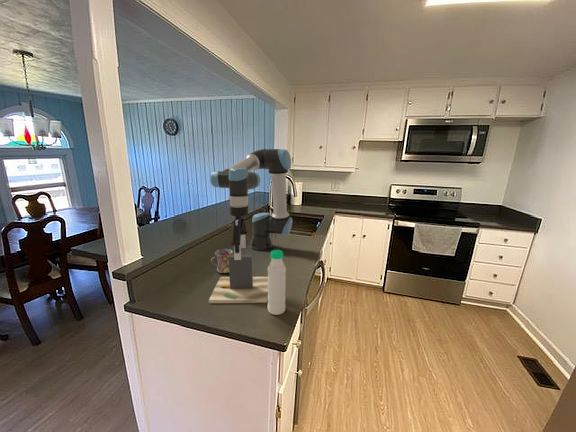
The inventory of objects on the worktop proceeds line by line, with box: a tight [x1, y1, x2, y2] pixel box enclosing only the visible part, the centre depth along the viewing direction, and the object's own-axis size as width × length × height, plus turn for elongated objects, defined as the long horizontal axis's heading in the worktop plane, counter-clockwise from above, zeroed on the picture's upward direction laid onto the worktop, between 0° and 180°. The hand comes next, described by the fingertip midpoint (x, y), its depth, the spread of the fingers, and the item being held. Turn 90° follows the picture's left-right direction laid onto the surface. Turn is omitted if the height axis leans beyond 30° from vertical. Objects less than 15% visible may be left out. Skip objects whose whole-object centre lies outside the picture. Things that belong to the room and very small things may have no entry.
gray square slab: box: [221, 254, 254, 288], centre depth 107 cm, size 3×14×15 cm, turn 92°
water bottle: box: [267, 249, 287, 316], centre depth 92 cm, size 7×7×25 cm
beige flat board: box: [208, 276, 268, 304], centre depth 109 cm, size 20×24×2 cm
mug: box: [210, 248, 234, 274], centre depth 126 cm, size 12×9×11 cm
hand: (240, 253), depth 104 cm, fingers open, 13 cm apart
